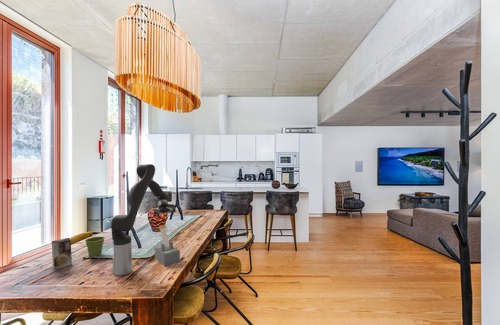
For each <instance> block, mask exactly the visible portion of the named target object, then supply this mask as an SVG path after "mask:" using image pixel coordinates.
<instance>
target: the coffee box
mask: <svg viewBox="0 0 500 325" xmlns="http://www.w3.org/2000/svg"><path fill="white" fill-rule="evenodd" d="M71 241H72V240H71V238H69V237H66V238H60V239H56V240H52V241H51V255H52V268H53V270H57V269H62V268H66V267H68V266H72V265H73V261H72V258H73V257H72V256H73V255H72V242H71Z"/></svg>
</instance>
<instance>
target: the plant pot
mask: <svg viewBox="0 0 500 325" xmlns="http://www.w3.org/2000/svg"><path fill="white" fill-rule="evenodd" d="M104 239H106V237H105V236H94V237H89V238H86V239H84V242H85V244H86V248H87V252H88V257H91V258H92V257H93V258H95V257H94V256H96V257H98V255H99V256H101V255H102V251H103V244H104V241H105V240H104ZM100 254H101V255H100Z"/></svg>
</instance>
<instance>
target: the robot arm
mask: <svg viewBox="0 0 500 325" xmlns="http://www.w3.org/2000/svg"><path fill="white" fill-rule="evenodd" d="M155 173H156V167H155V165H154V164H152V163H151V164H150V163H149V164H148V163H147V164H139V165H138V166H137V167H136V174H137V176H138V177H139V179H140V180H139V181H137V182H136V183H135V184H134V185H132V187H131V188H130V189H129V192H128V194H127V197H126V199H127V203H128V206H129V211H128V212H127V214H118V215H114V216H113V217H112V219H111V221H110V224H111V225H110V226H111V227H110V230H111V236H112V237H111V239H112V242H113V256H112V274H114V275H115V276H118V277H119V276H120V277H121V276H126V275H129V274H131V273H132V272H133V257H132V256H133V254H132V237H131V236H130V235H129V234H126V233H124V232H129V231H131V230H132V229H133V228H134V224H135V222H136V218H137V215H138V213H139V209H140V206H141V204H142V202H143V199H145V198H144V197H145V195H146V192H147V190H148V189H149V190H150V191H151V193H152V195H153V196H154V202H155V204H156V205H157V208H153V215H154V216H156V217H158V218H160V215H162V214H166V213H167V214H171V216H173V215H174V213H177V211H176V210H177V208H176V206H174V205H173V206H172V207H170V205H169V202H168V201H169V199H170V198H169V197H170V196H169V195H168V194H167V192H165V191H163V189H162V187H161V186H160V184H159V183H158V182H156V181H155V180H153V179H154V176H155Z"/></svg>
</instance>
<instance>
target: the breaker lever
mask: <svg viewBox="0 0 500 325" xmlns="http://www.w3.org/2000/svg"><path fill="white" fill-rule="evenodd" d="M166 228H167V226H166V224H160V225H159V226H158V229H159V230H160V235H161V237H162V242H163V244H164V248H169V247H170V241H169V237H168V232H167V229H166Z"/></svg>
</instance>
